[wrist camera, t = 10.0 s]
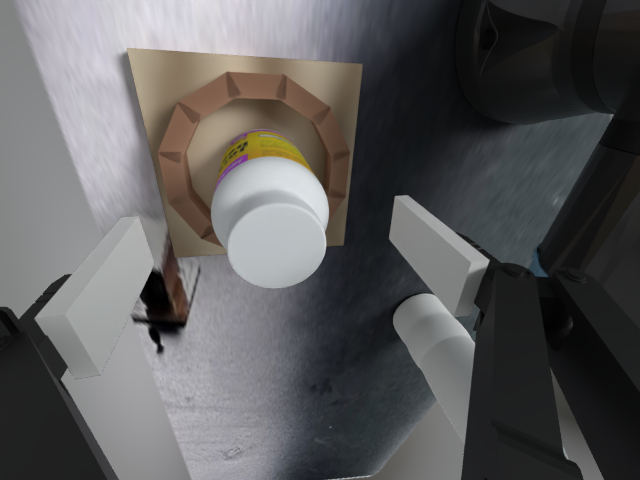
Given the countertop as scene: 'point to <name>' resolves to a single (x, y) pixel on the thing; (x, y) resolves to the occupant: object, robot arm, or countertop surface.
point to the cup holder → (241, 128)
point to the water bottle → (439, 354)
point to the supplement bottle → (269, 210)
